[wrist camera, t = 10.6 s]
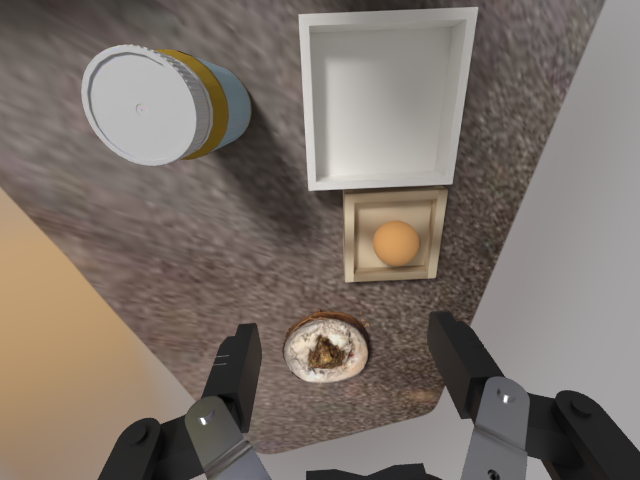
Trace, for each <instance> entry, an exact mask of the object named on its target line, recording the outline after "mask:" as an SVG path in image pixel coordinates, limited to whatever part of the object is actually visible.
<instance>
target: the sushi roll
mask: <svg viewBox="0 0 640 480" xmlns="http://www.w3.org/2000/svg"><path fill="white" fill-rule="evenodd" d="M318 310H319V313H315V314H313V315H310V316H308V317H304V318H303V319H302V320H300V321H299V323H296V324H294V325H292V327H291V328H289V331H288V332H287V334H286V337H287V338H286V340H285V342H284V343H283V344H284V346H283V358H284V360H285V362H286V364H287V366H288V367H289V369H290V371H291V372H292V374H294V375H295V376H296V377H297V378H299V379H301V380H303V381H306V382H310V383H319V384H320V383H331V382H338V381H342V380H346V379H349V378H352V377H354V376H356V375H357V374H359V373H360V372H361V371H362V370H363V369H364V367H365V365H366V364H367V362H368V359H369V355H370V346H369V341H370V339H369V340H368V335H367V334H366V332H365V330H364V328H363V325H362V323H361V322H359V321H357V320H356V319H355V318H354V317H353V316H351V315H348V314H345V313H338V312H325V311H324V312H322V313H321V312H320V309H318ZM360 314H361V313H360ZM361 320H362V321H364V320H363V319H361ZM367 326H370V325H369V324H368V323H366V324H365V327H367Z"/></svg>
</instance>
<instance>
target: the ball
mask: <svg viewBox="0 0 640 480" xmlns="http://www.w3.org/2000/svg"><path fill="white" fill-rule="evenodd" d="M373 249H374V252H375V254H376V255H377V257H378V258H379V259H380V260H381V261H382V262H384V263H386V264H388V265H393V266H400V265H404V264H406V263H408V262H410V261H411V260H412V259H413V258H414V257H415V256H416V254H417V252H418V249H419V237H418V235H417V232H416V231H415V229H414V228H413V227H412V226H410V225H409V224H407V223H405V222H402V221H390V222H387V223H385V224H383V225H382V226H380V227H379V228H378V230H377V231H376V233H375V235H374V238H373Z"/></svg>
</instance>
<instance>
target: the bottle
mask: <svg viewBox="0 0 640 480" xmlns="http://www.w3.org/2000/svg"><path fill="white" fill-rule="evenodd" d="M82 102H83V107H84V110H85V113H86V116H87V118H88V121H89V123H90V125H91V126H92V128H93V130H94V131H95V133H96V134H97V135H98V137H99V138H100V139H101V140H102V141H103V142H104V143H105V144H106V145H107V146H108V147H109V148H110V149H111V150H112V151H114V152H115V153H117V154H118V155H120V156H121V157H123V158H125V159H127V160H129V161H132V162H135V163H138V164H142V165H150V166H159V165H165V164H170V163H172V162H175V161H177V160H190V159H195V158H198V157H201V156H204V155H207V154H209V153H211V152H213V151H215V150H217V149H219V148H221V147H223V146H225V145H227V144H229V143H231V142H233V141H235V140H236V139H237V138H239V137H240V136H241V135H242V134H243V133H244V132H245V130H246V129H247V127H248V125H249V123H250V119H251V114H252V108H251V100H250V97H249V94H248V92H247V89H246V88H245V86H244V85H243V83H242V82H241V81H240V79H239V78H238V77H236V76H235V75H234V74H233V73H231V72H230V71H228V70H227V69H225V68H222V67H219V66H217V65H214V64H212V63H209V62H206V61H204V60H201V59H199V58H196V57H193V56H191V55H188V54H185V53H183V52H180V51H176V50H163V49H158V50H151V49H148V48H145V47H141V46H135V45H130V46H129V45H121V46H120V45H118V46H115V47H111V48H108V49H106V50H104V51H102V52H100V53H99V54H98V55H97V56H95V57H94V58H93V60H92V61H91V62H90V63H89V65H88V67H87V69H86V71H85V73H84V76H83V81H82Z"/></svg>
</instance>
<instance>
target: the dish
mask: <svg viewBox="0 0 640 480" xmlns="http://www.w3.org/2000/svg"><path fill="white" fill-rule="evenodd" d="M477 13H478V7H463V8H439V9H415V10H391V11H367V12H343V13H319V14H299V31H300V49H301V66H302V84H303V101H304V119H305V137H306V154H307V172H308V190H309V191H313V190H335V189H357V188H379V187H401V186H424V185H446V184H452V183H453V176H454V170H455V163H456V156H457V149H458V142H459V136H460V129H461V122H462V115H463V108H464V102H465V95H466V88H467V81H468V74H469V68H470V61H471V54H472V47H473V40H474V34H475V27H476V20H477Z"/></svg>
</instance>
